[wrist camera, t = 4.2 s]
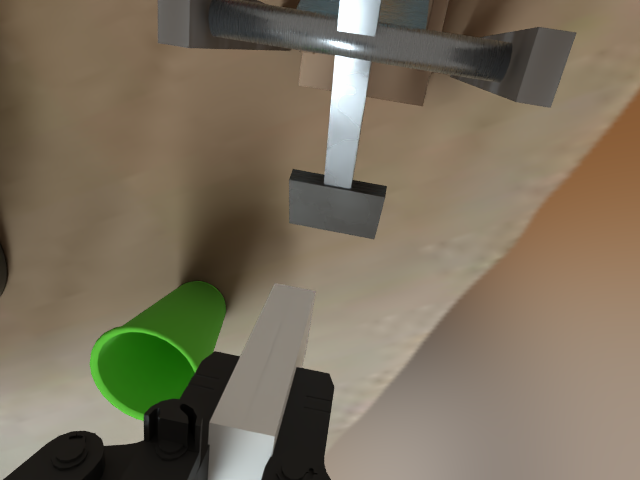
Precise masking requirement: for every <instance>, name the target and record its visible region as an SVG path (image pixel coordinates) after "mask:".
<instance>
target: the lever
mask: <svg viewBox="0 0 640 480" xmlns="http://www.w3.org/2000/svg"><path fill="white" fill-rule="evenodd" d="M428 7H429V0H300V2H299V4H298V6H297V8H296V9H292V8H285V7H279V6H273V5H266V4H260V3H253V2H247V1H240V0H212V1H211V3H210V7H209V28H210V32H211V34H212V35H213V36H215V37H221V38H227V39H233V40H240V41H246V42H252V43H258V44H264V45H270V46H277V47H283V48H289V49H295V50H301V51H307V52H314V53H320V54H326V55H332V56H335V63H334V74H333V86H332V97H331V109H330V120H329V131H328V143H327V154H326V165H325V175H322V174H317V173H311V172H306V171H301V170H295V169H293V170H292V173H291V176H290V179H289V223H292V224H297V225H302V226H308V227H313V228H318V229H323V230H328V231H334V232H339V233H344V234H349V235H355V236H360V237H365V238H370V239H374V238H375V235H376V231H377V227H378V223H379V219H380V215H381V211H382V207H383V204H384V200H385V195H386V188H387V186H383V185H377V184H372V183H366V182H361V181H355V180H353V176H354V170H355V164H356V158H357V151H358V145H359V139H360V133H361V127H362V121H363V114H364V108H365V102H366V96H367V90H368V84H369V77H370V71H371V65H372V62H375V63H381V64H387V65H394V66H400V67H406V68H412V69H418V70H424V71H431V72H437V73H443V74H449V75H455V76H461V77H467V78H474V79H480V80H486V81H492V82H498V83H500V82H501V81H502V80H503V78H504V76H505V74H506V72H507V69H508V67H509V63H510V60H511V55H512V48H513V46H512V43H510V42H504V41H498V40H491V39H485V38H478V37H472V36H465V35H459V34H453V33H446V32H440V31H433V30H427V29H426V25H427V16H428Z"/></svg>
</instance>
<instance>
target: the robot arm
mask: <svg viewBox="0 0 640 480" xmlns="http://www.w3.org/2000/svg"><path fill="white" fill-rule="evenodd" d="M6 276H7V270H6V262H5V257H4V253H3V250H2V248H1V245H0V296H1V294H2V292H3V290H4V287H5V283H6ZM315 293H316V291H313V290H308V289H303V288H298V287H293V286H288V285H283V284H277V283H275V284H274V286H273V288H272V290H271V292H270V294H269V296H268V298H267V301H266V303H265V305H264V307H263V309H262V311H261V313H260V315H259V318H258V320H257V322H256V324H255V326H254V328H253V330H252V333H251V335H250V337H249V339H248V341H247V343H246V345H245V347H244V350H243V352H242V354H241V356H235V355H230V354H225V353H221V352H216V351H215V352H213V353H212V354H210V355H209V356H208V357H206V358H205V359H204V360H202V361H201V363H200V365H199V366H198V368H197V370H196V372H195V374H194V376H193V377H192V378H191V380H190V382H189V384H188V386H187V387H186V389H185V390H184V392H183V394H182V395H181V397H180V399H168V400H164V401H160V402H159V403H157V404H155V405H153V406H151V407H150V408H149V409H148V410H147V411H146V412H145V413H144V440H143V441H140V442H138V443H133V444H127V445H113V446H104V445H103V442H102V439H101V438H100V437H98V436H97V435H96V434H95V433H91V432H87V431H73V432H69V433H66V434H63V435H60V436H58V437H57V438H55V439H53V440H52V441H50V442H49V443H47V444H46V445H45V446H44V447H42V448H41V449H40V450H39V451H37V452H36V453H35V454H34V455H33V456H31V457H30V458H29V459H28V460H27V461H25V462H24V463H23V464H22V465H20V466H19V467H18V468H17V469H16V470H14V471H13V472H12V473H11V474H9V475H8V476H7V477H6V478H5V479H3V480H331V479H330V477H329V476H328V474H327V472H326V469H325V465H324V455H325V448H326V441H327V434H328V427H329V420H330V413H331V406H332V400H333V393H334V385H333V382H332V380H331V377H330V374H328V373H323V372H319V371H314V370H309V369H304V368H302V365H303V361H304V357H305V353H306V348H307V342H308V336H309V330H310V323H311V317H312V311H313V305H314V299H315Z"/></svg>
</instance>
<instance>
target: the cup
mask: <svg viewBox="0 0 640 480" xmlns="http://www.w3.org/2000/svg"><path fill="white" fill-rule="evenodd" d="M225 314H226V305H225V300H224V298H223V296H222V294H221V293H220V292H219V291H218V289H216V288H215V287H214V286H212V285H210V284H208V283H206V282H202V281H192V282H187V283H185V284H183V285H181V286H180V287H178V288H177V289H175V290H174V291H172V292H171V293H170V294H168V295H167V296H165V297H164V298H162V299H161V300H159V301H158V302H156V303H155V304H154V305H152V306H151V307H149V308H148V309H146V310H145V311H143V312H142V313H140V314H139V315H138V316H136V317H135V318H133V319H132V320H130V321H129V322H127V323H126V324H124V325H123V326H121V327H116V328H113V329H111V330H109V331H107V332H105V333H104V334H103V335H102V336H101V337H100V338H99V339H98V340H97V341H96V343H95V345H94V347H93V349H92V352H91V359H90V368H91V374H92V377H93V379H94V381H95V384H96V386H97V387H98V389H99V390H100V392H101V393H102V395H103V396H104V397H105V398H106V399H107V400H108V401H109V402H110V403H111V404H112V405H113V406H115V407H116V408H118V409H119V410H121V411H122V412H123V413H125V414H127V415H129V416H131V417H134V418H136V419H139V420H142V421H144V413H145V412H146V411H147V410H148V409H149V408H150V407H151V406H153V405H155V404H157V403H159V402H160V401H164V400H168V399H180V397H181V395H182V394H183V392H184V390H185V389H186V387H187V386H188V384H189V382H190V380H191V378H192V377H193V376H194V374H195V372H196V370H197V368H198V366H199V365H200V363H201V361H202V360H204V359H205V358H206V357H208V356H209V355H210V354H212V353H213V351H214V348H215V345H216V342H217V339H218V336H219V333H220V330H221V327H222V324H223V320H224V317H225Z"/></svg>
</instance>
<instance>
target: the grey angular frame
mask: <svg viewBox="0 0 640 480" xmlns="http://www.w3.org/2000/svg"><path fill="white" fill-rule="evenodd" d="M211 1H212V0H158V43H162V44H168V45H174V46H180V47H186V48H209V49H246V50H284V51H290V49H289V48H283V47H277V46H270V45H264V44H258V43H252V42H246V41H240V40H233V39H227V38H221V37H215V36H213V35H212V34H211V32H210V28H209V7H210V3H211ZM240 1H247V2H253V3H260V4H265V3H262V2H260V1H257V0H240ZM448 3H449V0H429V7H428V16H427V25H426V29H427V30H433V31H440V32H442V28H443V24H444V20H445V15H446V11H447V7H448ZM266 5H267V4H266ZM575 36H576V33H575V32H569V31H562V30H555V29H549V28H542V27H537V28H531V29H525V30H520V31H514V32H508V33H503V34H497V35H491V36H485V37H480V38H485V39H491V40H498V41H504V42H510V43H512V46H513V48H512V55H511V60H510V63H509V67H508V69H507V72H506V74H505V76H504V78H503V80H502V81H501V82H500V83H498V82H492V81H486V80H480V79H474V78H467V77H461V76H455V75H451V76H450V77H452V78H455V79H458V80H460V81H463V82H465V83H468V84H471V85H473V86H476V87H478V88H481V89H483V90H486V91H489V92H491V93H494V94H496V95H499V96H502V97H504V98H507V99H509V100H512V101H515V102H519V103H525V104H531V105H537V106H543V107H549V108H551V105H552V102H553V99H554V96H555V93H556V91H557V88H558V85H559V82H560V79H561V76H562V73H563V70H564V67H565V64H566V62H567V59H568V56H569V53H570V50H571V47H572V44H573V41H574V38H575ZM299 52H302V59H301V68H300V76H299V84H298V85H299V86H305V87H311V88H317V89H323V90H329V91H332V86H333V74H334V63H335V56H332V55H326V54H320V53H314V52H307V51H301V50H300V51H299ZM430 73H432V72H431V71H424V70H418V69H412V68H406V67H400V66H394V65H387V64H381V63H375V62H372V65H371V71H370V77H369V84H368V90H367V96H366V97H371V98H377V99H383V100H388V101H394V102H400V103H406V104H412V105H418V106H423V103H424V99H425V94H426V90H427V86H428V81H429V77H430Z"/></svg>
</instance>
